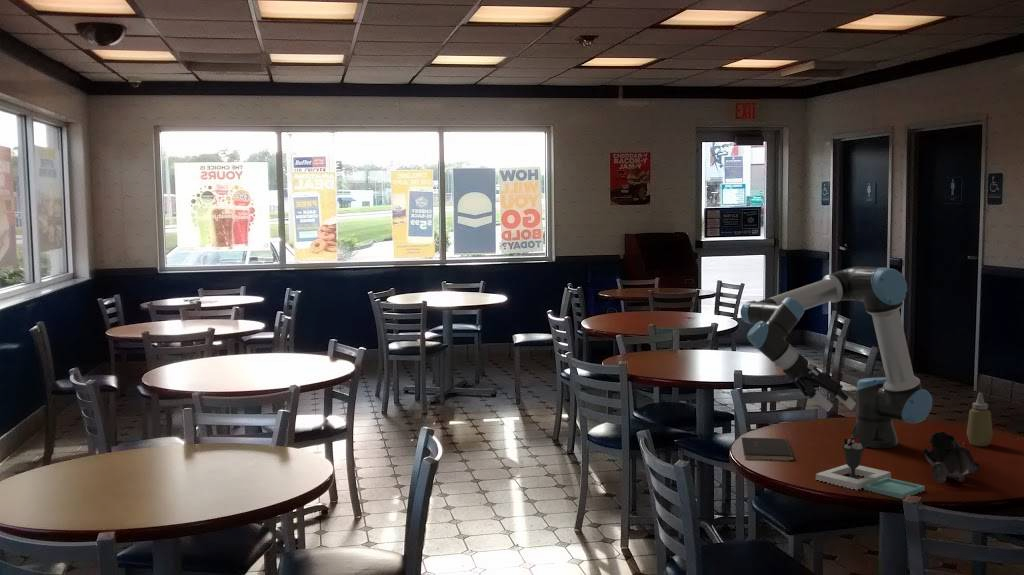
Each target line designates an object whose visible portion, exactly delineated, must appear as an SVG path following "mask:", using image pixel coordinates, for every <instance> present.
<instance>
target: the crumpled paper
mask: <svg viewBox="0 0 1024 575" xmlns="http://www.w3.org/2000/svg"><path fill="white" fill-rule="evenodd" d="M955 435H956V433H954V434H953V435H949V434H948V433H947V432H945V431H940V432H934V433H933V434H932V435H931V436H930V437H929V439H928V443H929V444H931V446H932V448H931V449H930V447H928V448H926V447H924V451H923V453H924V454H923V455H924V457H925V459H926V460H927V462H928V464H929V465H930V466H931V467H932V471H931V475H932V477H933V478H934V480H935V481H936V483H938V484H942V483H943V484H944V483H945V482H946V481H947V477H948V478H949V479H953V480H955V481H958V482H960V483H961V482H962V483H963V482H964V480H965V475H967V474H971V475H976V474H978V472H979V470H980V468H981V467H980V464H979V463H977V462H976V461H975V460H974V458H973V455H972V454H971V451H970V450H969V449H967V447H966V448H965V447H963V445H961V444H960V443H959V442H958V441H957V440H956V439H955ZM977 457H978V456H976V458H977Z"/></svg>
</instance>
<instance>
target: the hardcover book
mask: <svg viewBox="0 0 1024 575" xmlns="http://www.w3.org/2000/svg"><path fill="white" fill-rule="evenodd" d="M741 443H742V448H743V449H742V450H743V455H744V459H745V460H756V461H757V460H759V461H761V459H762V461H763V459H764V460H765V459H768V460H767V461H770V460H769V459H772V460H771V461H789V460H794V461H795V457H794V453H793V451H792V447H791V444H790V442H789V439H788V438H776V437H775V438H771V437H770V438H769V437H741ZM765 461H766V460H765Z"/></svg>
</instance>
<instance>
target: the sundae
mask: <svg viewBox="0 0 1024 575" xmlns="http://www.w3.org/2000/svg"><path fill="white" fill-rule="evenodd" d="M859 434H860V432H859ZM859 434H858V435H859ZM858 435H857V436H854V437H853V438H851V437H850V438H849V439H847V438H844V439H843V440H844V441H843V442H844V444H843V445H841V448H843V451H844V458H845V465H846V464H847V465H848V466H849V467H850V468H851V474H849V476H848V477H850V478H855V479H861V478H860V477H858V476H857V475H855V469H856V468H857V467H858V466H859V465H860V466H861V463H862V462H861V461H862V454H863V451H864V450H865V448H866V447H864V446H862V444H861V443H860V442H859V441H860V440H859V439H858V438H857V437H858Z"/></svg>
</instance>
